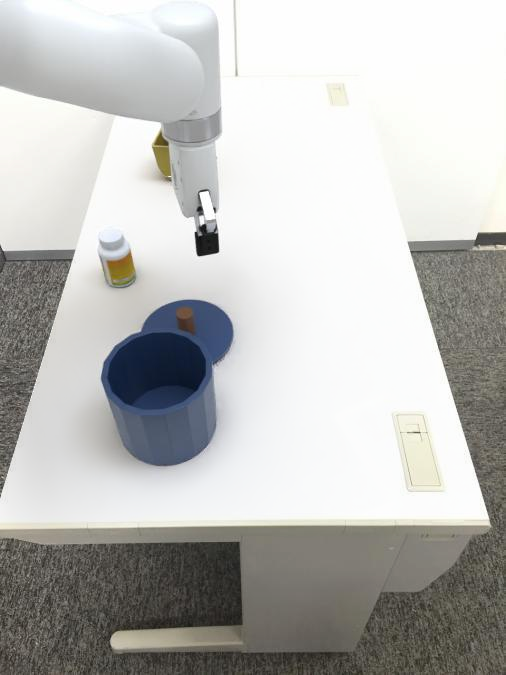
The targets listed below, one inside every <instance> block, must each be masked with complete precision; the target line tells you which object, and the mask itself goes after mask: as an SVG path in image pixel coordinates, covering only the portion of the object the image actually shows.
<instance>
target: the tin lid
mask: <svg viewBox="0 0 506 675" xmlns="http://www.w3.org/2000/svg"><path fill="white" fill-rule="evenodd" d="M150 328H174V329H178V330H181V331H185V332H188V333H191V334H192V335H193V336H195V337H196V338H197V339H199V340H200V341H201V342H203V343H204V344H205V346H206V348H207V350H208V352H209V354H210V356H211V357H212V362H213V364H215V363H216V362H217V361H219V360H220V359H221V358H222V357H224V356H225V354H226V353H227V352H228V351H229V349H230V347H231V346H232V343H233V339H234V326H233V323H232V320H231V318H230V317H229V315H228V314H227V312H225V311H224V310H223V309H222V308H220V307H219V306H217V305H216V304H214V303H212V302H209V301H205V300H201V299H192V298H191V299H179V300H175V301H172V302H168V303H166V304H164V305H162V306H160V307H159V308H157V309H155V310H154V311H153V312H152V313H150V314H149V315H148V317H147V318H146V319H145V321H144V322H143V324H142V327H141V329H140V332H141V331H144V330H147V329H150Z"/></svg>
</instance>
